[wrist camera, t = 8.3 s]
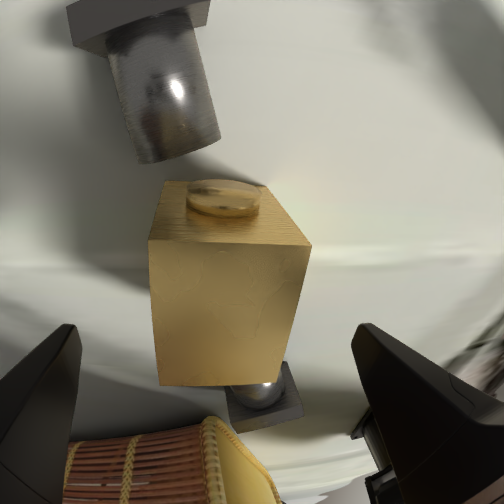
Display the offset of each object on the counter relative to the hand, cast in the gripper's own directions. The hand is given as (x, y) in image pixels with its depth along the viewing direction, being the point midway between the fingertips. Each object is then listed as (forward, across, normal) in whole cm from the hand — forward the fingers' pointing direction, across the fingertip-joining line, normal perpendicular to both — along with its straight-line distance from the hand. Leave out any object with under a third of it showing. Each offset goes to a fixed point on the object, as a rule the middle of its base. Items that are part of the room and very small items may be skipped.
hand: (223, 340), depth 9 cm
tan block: (+7, 0, 0) cm, 7 cm away
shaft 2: (+7, -3, +8) cm, 11 cm away
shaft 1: (+7, +3, -7) cm, 10 cm away
